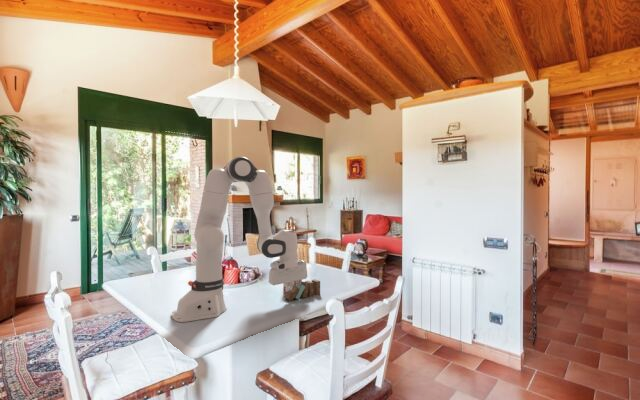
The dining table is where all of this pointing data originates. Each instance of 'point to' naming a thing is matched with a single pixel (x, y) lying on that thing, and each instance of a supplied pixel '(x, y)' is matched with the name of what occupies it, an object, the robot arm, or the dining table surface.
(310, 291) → the domino
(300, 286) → the teal domino
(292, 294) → the domino
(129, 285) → the dining table surface
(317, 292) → the domino
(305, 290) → the domino
